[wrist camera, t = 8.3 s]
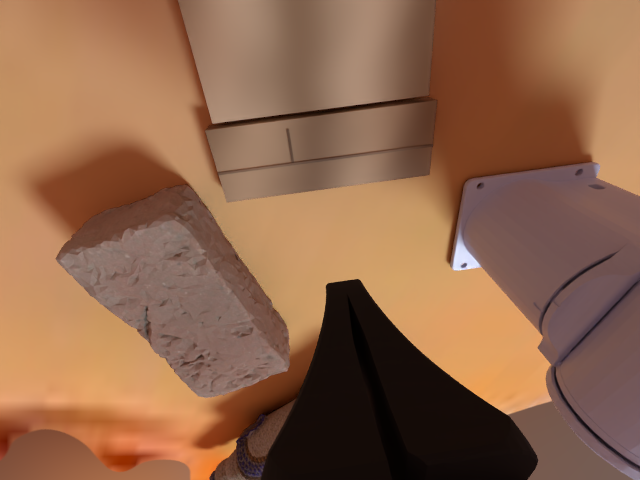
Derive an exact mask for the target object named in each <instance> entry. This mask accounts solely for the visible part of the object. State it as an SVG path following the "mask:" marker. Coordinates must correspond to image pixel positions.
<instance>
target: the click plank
mask: <svg viewBox="0 0 640 480" xmlns="http://www.w3.org/2000/svg"><path fill="white" fill-rule="evenodd" d="M178 3H179V6H180V10H181V13H182V17H183V20H184V24H185V27H186V31H187V35H188V38H189V42H190V45H191V49H192V52H193V56H194V60H195V63H196V67H197V70H198V74H199V77H200V81H201V85H202V88H203V92H204V95H205V99H206V102H207V106H208V110H209V113H210V117H211V120H212V124H214V123H222V122H229V121H237V120H245V119H252V118H260V117H268V116H276V115H283V114H291V113H299V112H306V111H314V110H322V109H330V108H337V107H345V106H353V105H360V104H368V103H376V102H383V101H391V100H399V99H407V98H414V97H422V96H429V88H430V75H431V62H432V49H433V35H434V22H435V9H436V0H178Z"/></svg>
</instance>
